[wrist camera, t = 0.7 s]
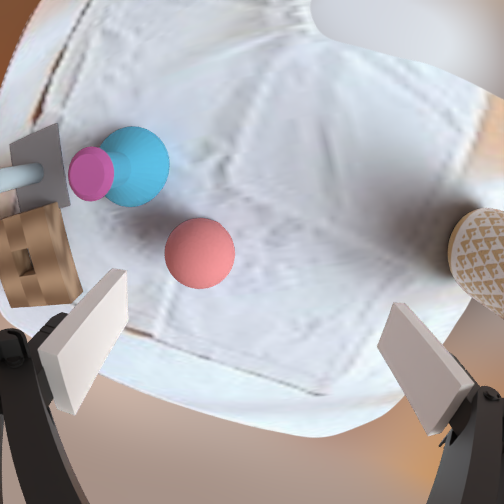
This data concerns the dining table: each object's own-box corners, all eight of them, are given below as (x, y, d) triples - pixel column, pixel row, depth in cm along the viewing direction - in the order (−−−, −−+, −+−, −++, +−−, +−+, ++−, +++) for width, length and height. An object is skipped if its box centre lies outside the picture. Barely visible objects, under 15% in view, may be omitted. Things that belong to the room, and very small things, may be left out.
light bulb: (170, 230, 39) (141, 262, 27) (210, 192, 37) (195, 211, 26) (207, 269, 41) (194, 314, 29) (248, 234, 39) (250, 269, 28)
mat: (11, 144, 34) (9, 144, 33) (57, 123, 33) (56, 123, 33) (23, 218, 37) (22, 219, 37) (70, 205, 37) (69, 205, 37)
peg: (28, 165, 35) (-27, 176, 23) (42, 160, 34) (-14, 168, 23) (31, 185, 35) (-24, 200, 24) (45, 180, 35) (-10, 194, 24)
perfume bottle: (163, 117, 34) (116, 99, 20) (187, 185, 37) (153, 206, 23) (101, 146, 35) (33, 149, 21) (124, 210, 38) (66, 244, 24)
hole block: (0, 219, 37) (-15, 225, 33) (58, 201, 37) (43, 206, 33) (23, 297, 42) (11, 307, 38) (83, 291, 41) (71, 303, 37)
